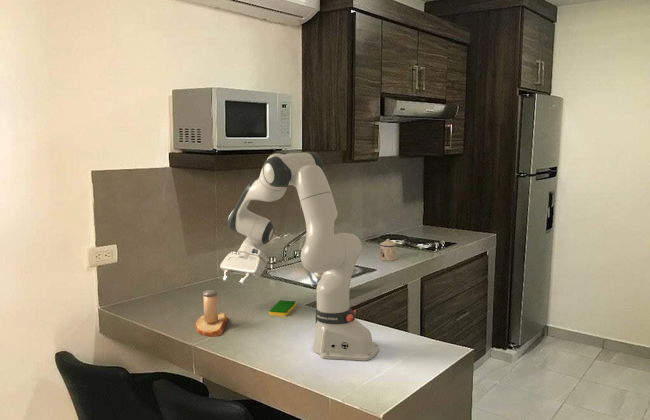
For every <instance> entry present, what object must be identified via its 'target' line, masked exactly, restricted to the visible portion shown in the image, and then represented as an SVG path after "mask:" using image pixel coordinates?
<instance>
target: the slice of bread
mask: <svg viewBox="0 0 650 420" xmlns="http://www.w3.org/2000/svg"><path fill="white" fill-rule="evenodd" d="M227 322H228V318H227V316H226V314H225V313H224V312H222V313H218V321H215V322H205V321H204V314H202V315H201V316H200V317H198V319H197V320H196V321H195V331H196V332H197V333H198V334H199V335H201V336H204V337H208V338H216V337H220V336H222V334H223V333H224V331H225V328H226V326H227Z"/></svg>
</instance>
